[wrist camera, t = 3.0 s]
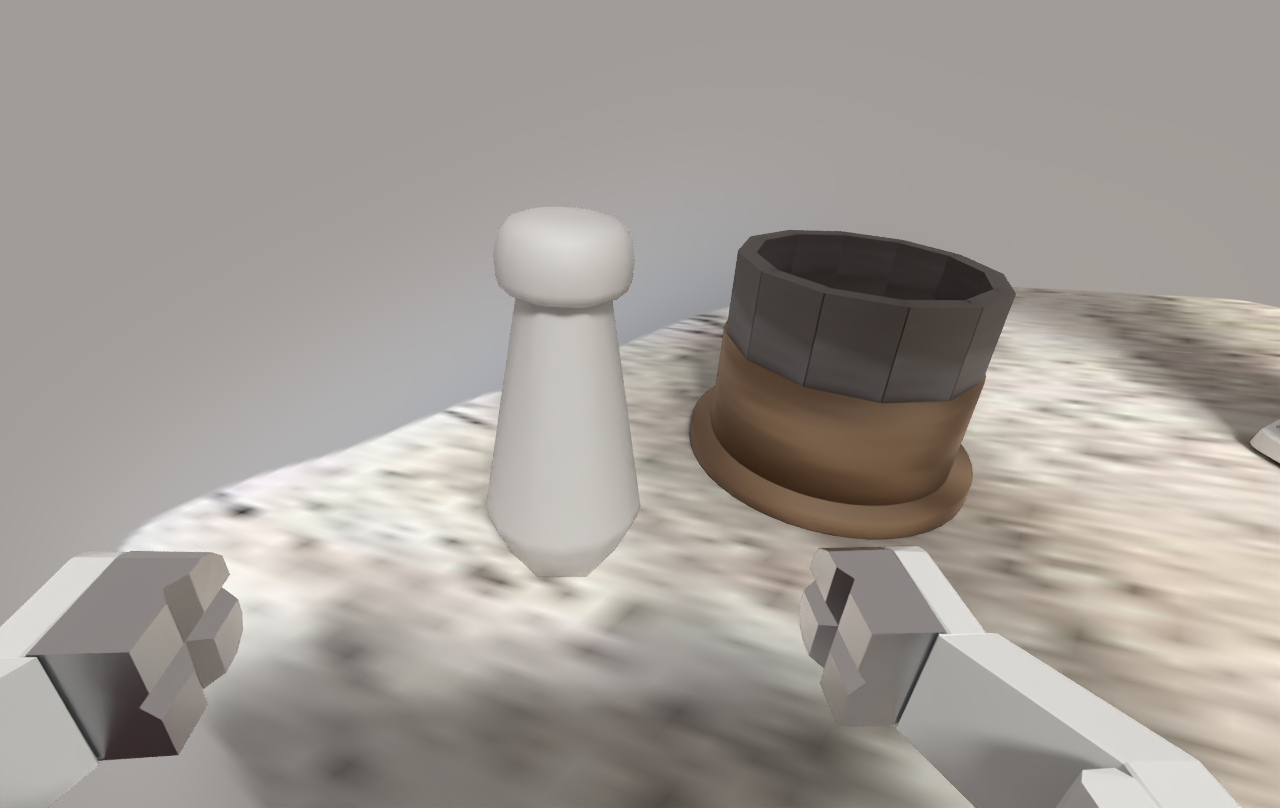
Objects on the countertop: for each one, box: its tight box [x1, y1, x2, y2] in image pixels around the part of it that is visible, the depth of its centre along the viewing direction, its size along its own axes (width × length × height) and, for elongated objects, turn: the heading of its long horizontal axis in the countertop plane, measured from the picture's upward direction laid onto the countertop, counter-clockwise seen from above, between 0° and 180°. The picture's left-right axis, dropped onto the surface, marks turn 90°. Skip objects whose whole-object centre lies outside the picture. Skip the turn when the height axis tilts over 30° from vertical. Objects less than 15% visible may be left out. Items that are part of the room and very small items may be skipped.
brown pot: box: [690, 230, 1016, 539], centre depth 30 cm, size 14×14×10 cm
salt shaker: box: [486, 207, 640, 577], centre depth 21 cm, size 6×6×13 cm
